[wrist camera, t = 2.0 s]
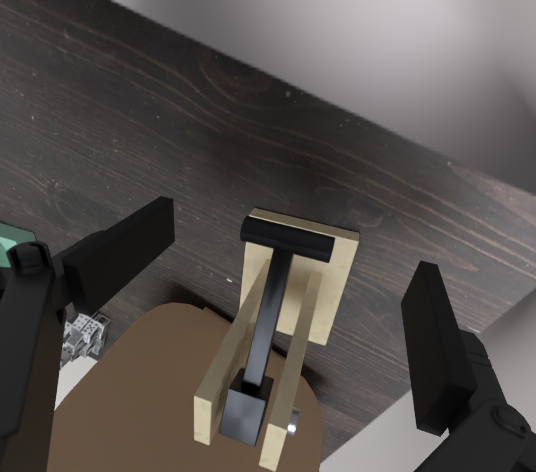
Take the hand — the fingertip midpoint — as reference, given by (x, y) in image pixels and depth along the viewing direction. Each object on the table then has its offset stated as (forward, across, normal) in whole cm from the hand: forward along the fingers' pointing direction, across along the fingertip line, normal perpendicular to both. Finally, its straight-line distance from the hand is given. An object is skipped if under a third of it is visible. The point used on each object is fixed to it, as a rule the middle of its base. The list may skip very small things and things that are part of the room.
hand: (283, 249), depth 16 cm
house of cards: (+10, -27, -25) cm, 38 cm away
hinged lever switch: (+10, 0, -9) cm, 13 cm away
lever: (0, 0, -5) cm, 5 cm away
